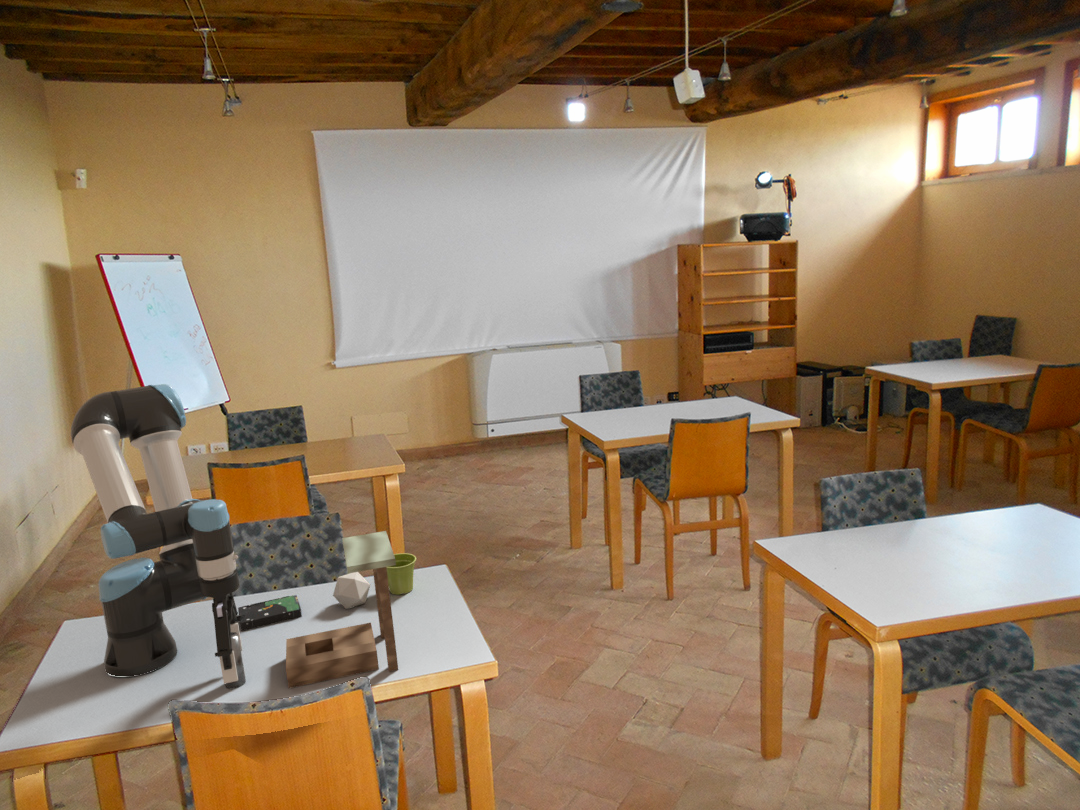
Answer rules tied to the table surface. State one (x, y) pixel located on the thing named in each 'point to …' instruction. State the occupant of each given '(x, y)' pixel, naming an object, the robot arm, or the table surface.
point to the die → (351, 590)
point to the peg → (237, 662)
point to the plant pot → (401, 574)
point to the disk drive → (269, 612)
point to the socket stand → (353, 644)
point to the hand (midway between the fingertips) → (233, 666)
